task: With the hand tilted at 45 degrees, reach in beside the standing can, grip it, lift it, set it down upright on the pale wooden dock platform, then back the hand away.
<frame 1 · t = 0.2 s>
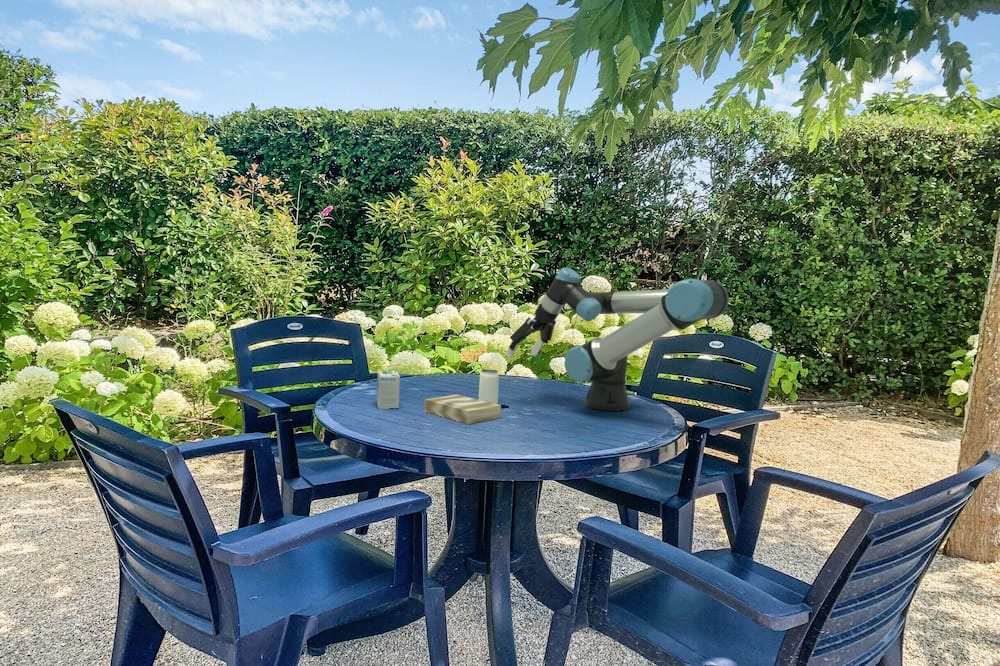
hand: (520, 355, 219), 16 cm above the table, tool tilted 35°, fingers open, 13 cm apart
dock: (462, 414, 191), on the table
light bulb box: (387, 406, 199), on the table
can: (488, 406, 205), on the table
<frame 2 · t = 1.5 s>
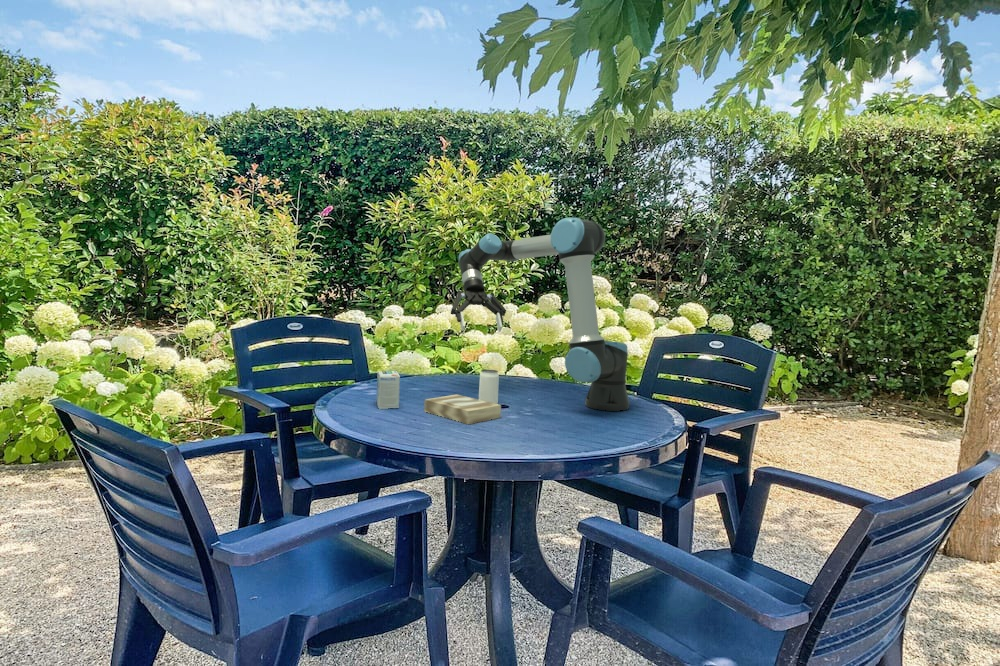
hand: (482, 328, 213), 25 cm above the table, tool tilted 45°, fingers open, 13 cm apart
nothing on the table moved.
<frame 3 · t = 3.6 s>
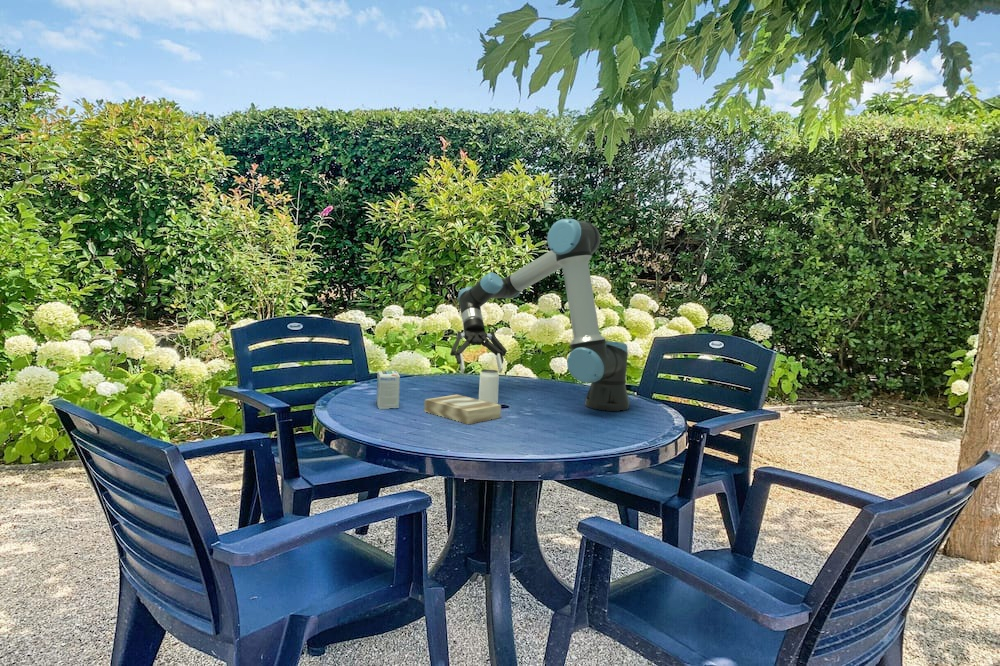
hand: (482, 370, 210), 11 cm above the table, tool tilted 45°, fingers open, 13 cm apart
nothing on the table moved.
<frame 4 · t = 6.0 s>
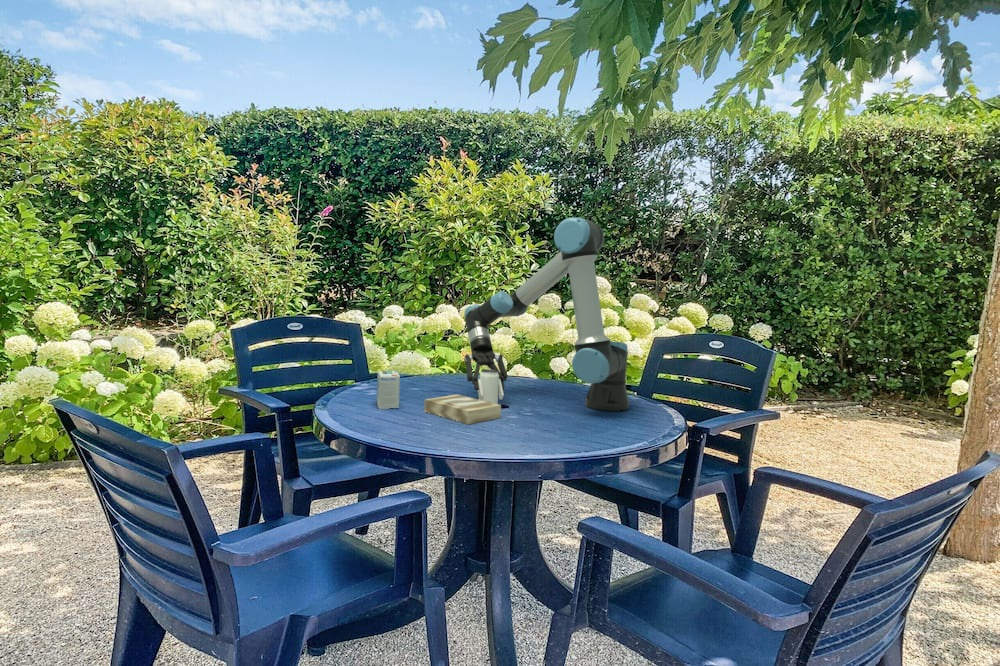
hand: (491, 397, 202), 4 cm above the table, tool tilted 45°, fingers closed on can, 6 cm apart
can: (488, 406, 205), on the table, touching gripper
everything else where it was.
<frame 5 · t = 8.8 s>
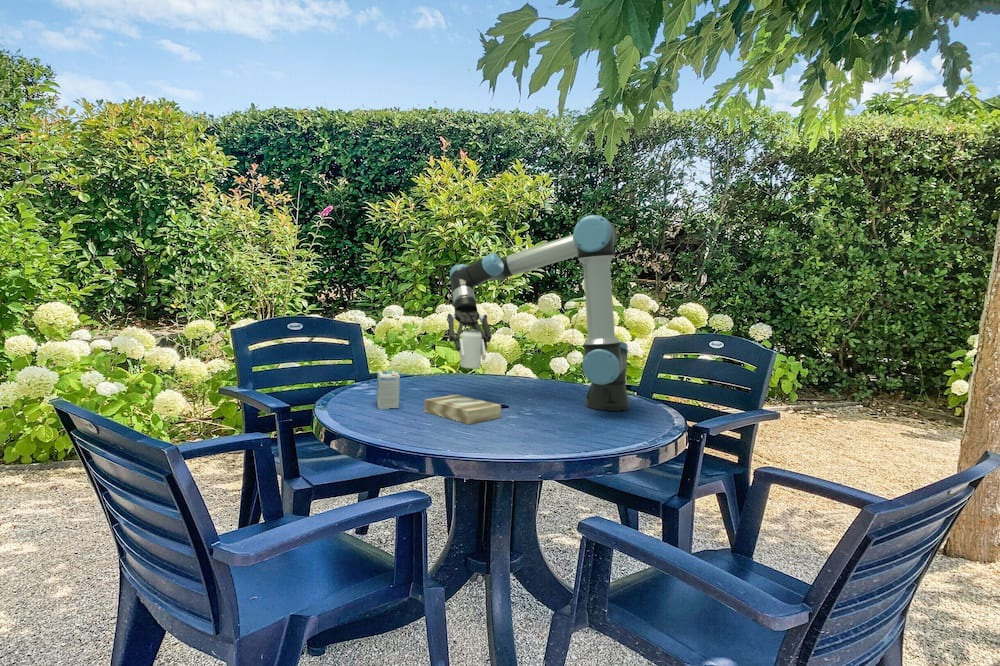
hand: (473, 357, 192), 18 cm above the table, tool tilted 45°, fingers closed on can, 6 cm apart
can: (470, 367, 196), point 14 cm above the table, touching gripper
everything else where it was.
when the fingers open (9 cm above the table, at t = 11.3 s): can drops 1 cm, resting on dock.
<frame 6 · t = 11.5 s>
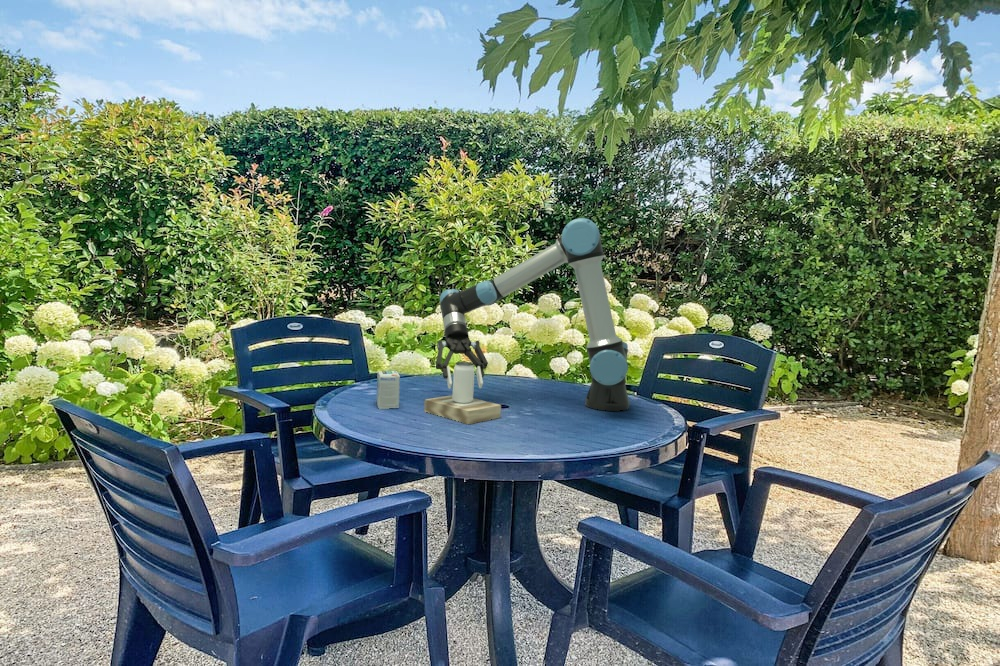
hand: (465, 385, 187), 10 cm above the table, tool tilted 45°, fingers open, 9 cm apart
can: (462, 401, 191), point 4 cm above the table, touching dock
everything else where it was.
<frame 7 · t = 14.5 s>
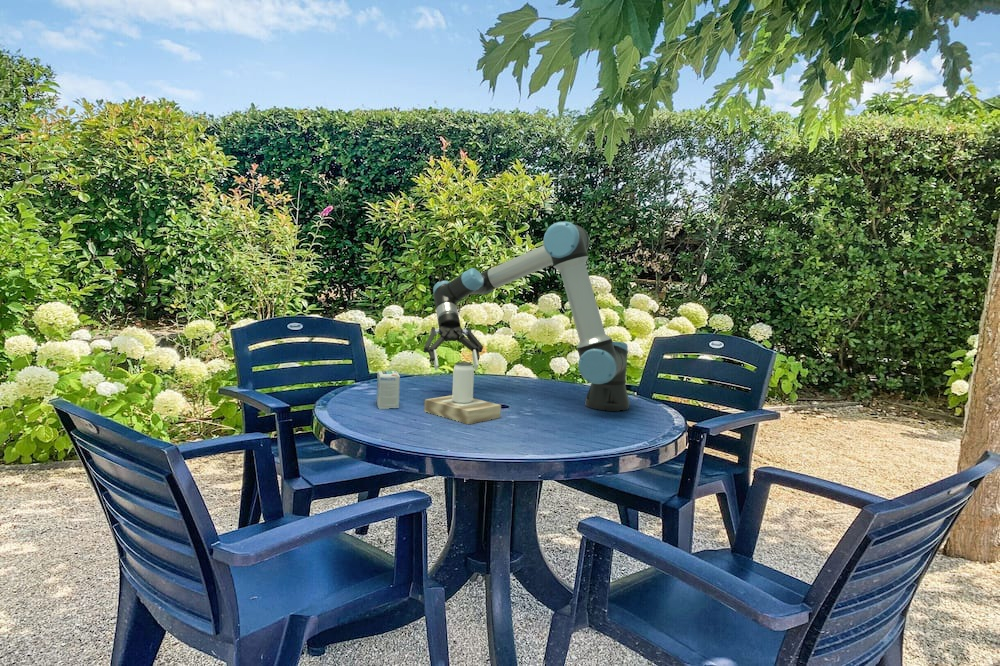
hand: (457, 367, 200), 13 cm above the table, tool tilted 45°, fingers open, 13 cm apart
nothing on the table moved.
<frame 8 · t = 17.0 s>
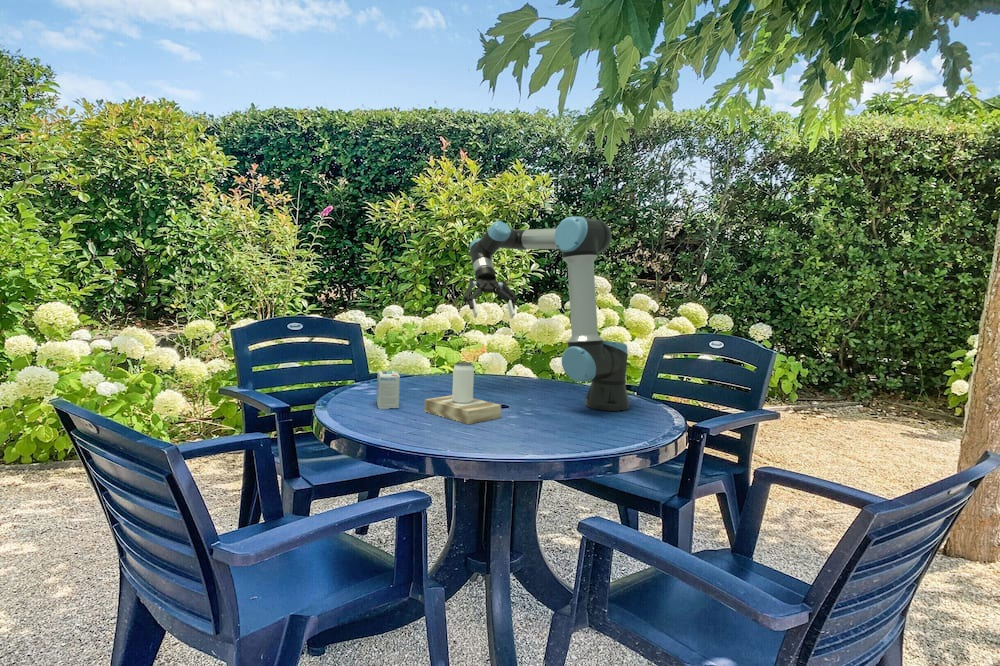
hand: (494, 315, 215), 30 cm above the table, tool tilted 45°, fingers open, 13 cm apart
nothing on the table moved.
at the end: can inside the target area on the dock (0.1 cm from its centre), point 4.0 cm above the dock's base; can tilted 0°; the gripper is holding nothing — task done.
